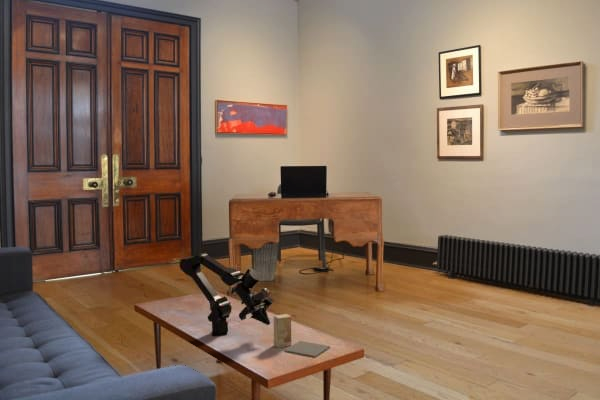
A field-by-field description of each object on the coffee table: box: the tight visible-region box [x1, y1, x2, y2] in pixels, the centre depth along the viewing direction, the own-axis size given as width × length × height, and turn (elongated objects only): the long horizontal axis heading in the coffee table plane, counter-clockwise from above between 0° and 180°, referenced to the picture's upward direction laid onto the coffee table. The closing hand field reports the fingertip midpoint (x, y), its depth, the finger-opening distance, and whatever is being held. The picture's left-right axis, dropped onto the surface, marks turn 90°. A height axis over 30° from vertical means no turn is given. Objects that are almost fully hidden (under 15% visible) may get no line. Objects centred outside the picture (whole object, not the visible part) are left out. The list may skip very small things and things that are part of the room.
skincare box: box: [273, 313, 292, 349], centre depth 222 cm, size 6×4×12 cm
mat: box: [284, 340, 331, 358], centre depth 217 cm, size 14×12×1 cm
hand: (269, 324), depth 226 cm, fingers closed
